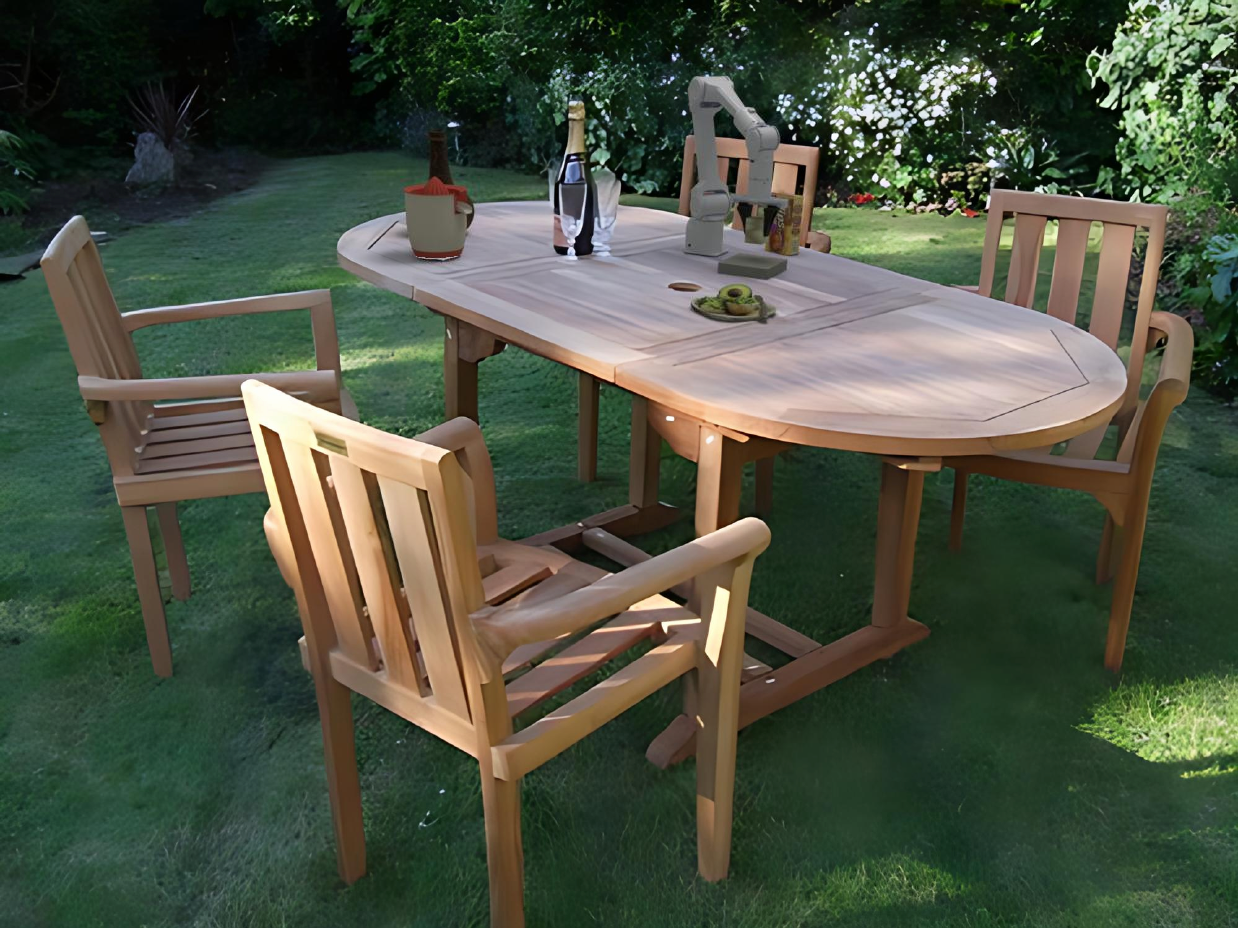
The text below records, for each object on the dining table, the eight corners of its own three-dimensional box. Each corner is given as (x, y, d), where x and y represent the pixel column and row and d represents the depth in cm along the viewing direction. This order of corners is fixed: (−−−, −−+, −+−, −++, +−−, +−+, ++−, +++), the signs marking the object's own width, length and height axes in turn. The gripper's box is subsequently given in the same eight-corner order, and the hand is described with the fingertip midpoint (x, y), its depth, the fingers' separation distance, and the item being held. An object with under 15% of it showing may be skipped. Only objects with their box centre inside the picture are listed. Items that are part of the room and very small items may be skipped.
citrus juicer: (455, 266, 273) (452, 184, 266) (395, 259, 279) (390, 178, 271) (486, 254, 287) (483, 175, 279) (427, 247, 293) (423, 170, 285)
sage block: (744, 242, 274) (746, 218, 272) (751, 240, 278) (753, 215, 275) (761, 244, 272) (763, 220, 270) (768, 242, 276) (770, 217, 273)
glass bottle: (477, 228, 318) (474, 127, 307) (472, 241, 301) (469, 134, 290) (414, 228, 317) (408, 126, 306) (406, 240, 300) (400, 133, 289)
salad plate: (798, 321, 234) (800, 300, 233) (724, 329, 228) (725, 307, 226) (751, 300, 251) (753, 279, 249) (681, 307, 244) (682, 286, 242)
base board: (717, 272, 273) (718, 262, 272) (738, 262, 283) (739, 253, 282) (767, 279, 267) (767, 269, 266) (786, 269, 278) (787, 259, 277)
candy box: (799, 254, 294) (804, 195, 288) (788, 256, 292) (793, 197, 286) (775, 248, 301) (779, 191, 295) (764, 250, 298) (768, 192, 292)
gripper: (725, 178, 268) (722, 234, 274) (782, 183, 262) (778, 241, 267) (737, 174, 274) (734, 230, 279) (793, 179, 268) (788, 236, 273)
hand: (756, 235), depth 274 cm, fingers closed on sage block, 4 cm apart
